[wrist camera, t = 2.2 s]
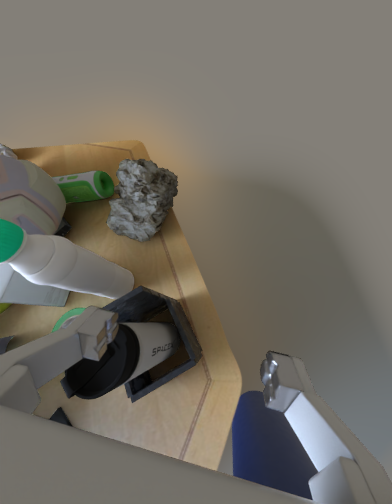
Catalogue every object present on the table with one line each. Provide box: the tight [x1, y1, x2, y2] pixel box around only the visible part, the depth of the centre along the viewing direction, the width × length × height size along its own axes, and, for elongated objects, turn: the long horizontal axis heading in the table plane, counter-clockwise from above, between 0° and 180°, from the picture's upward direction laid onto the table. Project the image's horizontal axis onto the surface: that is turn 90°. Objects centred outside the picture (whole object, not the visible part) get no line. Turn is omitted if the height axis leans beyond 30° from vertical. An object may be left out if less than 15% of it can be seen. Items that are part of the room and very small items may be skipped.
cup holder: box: [103, 286, 202, 403], centre depth 27 cm, size 12×12×16 cm
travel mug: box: [60, 322, 181, 400], centre depth 25 cm, size 6×7×20 cm
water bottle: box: [0, 219, 134, 299], centre depth 29 cm, size 7×7×25 cm
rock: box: [106, 159, 178, 242], centre depth 41 cm, size 17×14×15 cm
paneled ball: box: [0, 154, 66, 235], centre depth 38 cm, size 21×22×20 cm
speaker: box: [51, 171, 114, 203], centre depth 49 cm, size 18×7×8 cm, turn 90°
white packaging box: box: [0, 263, 70, 307], centre depth 37 cm, size 7×7×13 cm
